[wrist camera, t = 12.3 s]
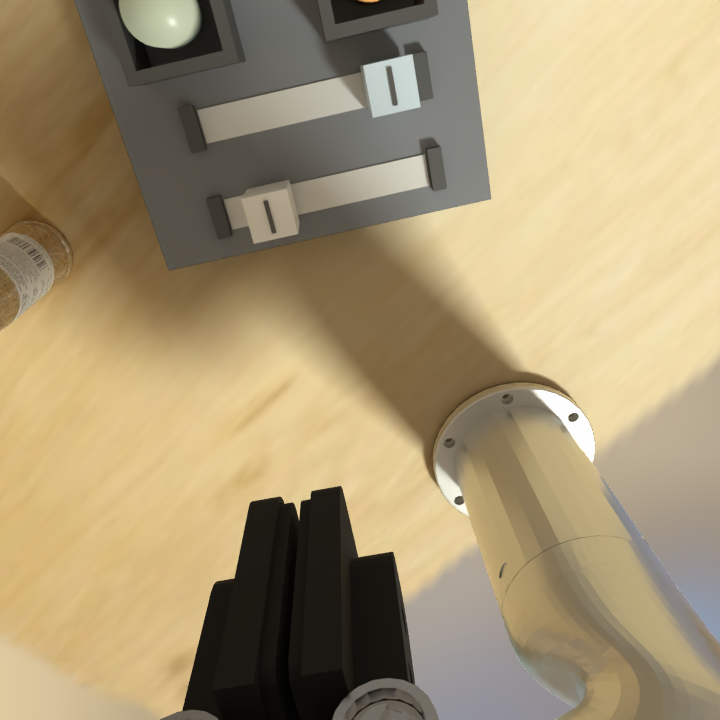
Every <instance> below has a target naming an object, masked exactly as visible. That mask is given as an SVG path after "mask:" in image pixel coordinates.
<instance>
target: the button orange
mask: <svg viewBox="0 0 720 720" xmlns="http://www.w3.org/2000/svg"><path fill="white" fill-rule="evenodd" d="M352 1H353V2H355V3H357V4H361V5H374V4H377V3H379V2H381V1H383V0H352Z"/></svg>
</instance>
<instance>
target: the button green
mask: <svg viewBox="0 0 720 720" xmlns="http://www.w3.org/2000/svg"><path fill="white" fill-rule="evenodd" d="M119 9H120V13H121V17H122V19H123V22H124V24H125V26H126V27H127V29H128V30H129V31H130V33H131V34H132V35H133V36H134V37H135V38H136V39H138V40H139V41H141V42H142V43H144V44H146V45H149V46H152V47H159V48H169V49H178V48H182V47H185V46H187V45H189V44H190V43H192V42H193V41H194V40H195V38H196V37H197V36H198V34H199V32H200V30H201V27H202V22H203V11H202V6H201V3H200V0H119Z"/></svg>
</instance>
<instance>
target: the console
mask: <svg viewBox="0 0 720 720" xmlns="http://www.w3.org/2000/svg"><path fill="white" fill-rule="evenodd" d="M74 1H75V4H76V7H77V10H78V13H79V15H80V18H81V21H82V24H83V27H84V30H85V33H86V35H87V38H88V41H89V44H90V47H91V50H92V53H93V55H94V58H95V61H96V64H97V67H98V70H99V73H100V75H101V78H102V81H103V84H104V87H105V90H106V93H107V95H108V98H109V101H110V104H111V107H112V110H113V113H114V115H115V118H116V121H117V124H118V127H119V130H120V133H121V135H122V138H123V141H124V144H125V147H126V150H127V153H128V155H129V158H130V161H131V164H132V167H133V170H134V173H135V175H136V178H137V181H138V184H139V187H140V190H141V193H142V195H143V198H144V201H145V204H146V207H147V210H148V213H149V215H150V218H151V221H152V224H153V227H154V230H155V233H156V235H157V238H158V241H159V244H160V247H161V250H162V253H163V255H164V258H165V261H166V264H167V267H168V270H174V269H178V268H183V267H187V266H192V265H196V264H201V263H205V262H210V261H214V260H219V259H223V258H228V257H232V256H237V255H241V254H246V253H250V252H255V251H259V250H264V249H268V248H273V247H277V246H282V245H286V244H291V243H295V242H300V241H304V240H309V239H313V238H318V237H322V236H327V235H331V234H336V233H341V232H345V231H350V230H354V229H359V228H363V227H368V226H372V225H377V224H381V223H386V222H390V221H395V220H399V219H404V218H408V217H413V216H417V215H422V214H426V213H431V212H435V211H440V210H444V209H449V208H453V207H458V206H462V205H467V204H471V203H476V202H480V201H485V200H489V199H491V193H490V185H489V176H488V168H487V160H486V152H485V143H484V135H483V127H482V119H481V110H480V102H479V94H478V86H477V77H476V69H475V61H474V53H473V44H472V36H471V28H470V19H469V11H468V3H467V0H383V1H381V2H379V3H377V4H374V5H361V4H357V3H355V2H353V1H352V0H200V3H201V6H202V11H203V22H202V27H201V30H200V32H199V34H198V36H197V37H196V38H195V40H194V41H193V42H192V43H190V44H189V45H187V46H185V47H182V48H178V49H169V48H159V47H152V46H149V45H146V44H144V43H142V42H141V41H139V40H138V39H136V38H135V37H134V36H133V35H132V34H131V33H130V31H129V30H128V29H127V27H126V26H125V24H124V22H123V19H122V17H121V13H120V9H119V0H74ZM410 54H412V55H413V62H414V68H415V74H416V81H417V87H418V93H419V100H420V106H421V107H419V108H415V109H410V110H406V111H401V112H397V113H393V114H388V115H384V116H380V117H375V118H372V117H371V115H370V114H369V111H368V106H367V101H366V96H365V90H364V85H363V80H362V75H361V69H360V65H364V64H368V63H373V62H377V61H381V60H386V59H390V58H394V57H399V56H403V55H410ZM285 180H289V181H290V185H291V189H292V193H293V197H294V201H295V205H296V209H297V213H298V217H299V221H300V224H299V231H298V234H296V235H292V236H287V237H283V238H278V239H274V240H269V241H265V242H260V243H256V244H254V243H253V239H252V236H251V232H250V229H249V225H248V222H247V218H246V215H245V211H244V208H243V204H242V201H241V198H242V197H243V195H244V193H245V191H246V190H247V189H250V188H254V187H258V186H263V185H267V184H272V183H276V182H281V181H285Z"/></svg>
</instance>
